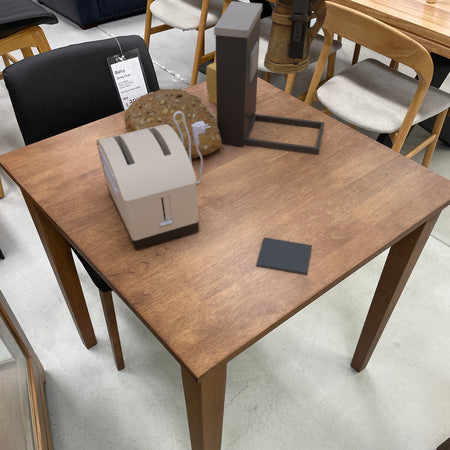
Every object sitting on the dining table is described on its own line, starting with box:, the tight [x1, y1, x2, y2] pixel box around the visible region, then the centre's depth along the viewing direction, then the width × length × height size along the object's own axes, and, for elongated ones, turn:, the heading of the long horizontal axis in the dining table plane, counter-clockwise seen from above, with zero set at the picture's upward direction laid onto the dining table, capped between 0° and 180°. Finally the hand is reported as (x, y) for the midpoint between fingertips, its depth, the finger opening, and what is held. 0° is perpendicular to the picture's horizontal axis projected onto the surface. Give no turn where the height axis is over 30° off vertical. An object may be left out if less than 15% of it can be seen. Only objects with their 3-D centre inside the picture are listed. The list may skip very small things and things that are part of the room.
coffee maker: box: [213, 0, 325, 155], centre depth 107 cm, size 26×17×28 cm, turn 76°
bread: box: [123, 88, 223, 159], centre depth 110 cm, size 24×21×12 cm
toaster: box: [95, 111, 211, 250], centre depth 92 cm, size 23×25×17 cm
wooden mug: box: [263, 0, 328, 75], centre depth 83 cm, size 9×14×18 cm, turn 85°
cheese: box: [205, 61, 217, 105], centre depth 125 cm, size 10×11×10 cm
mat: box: [255, 236, 313, 276], centre depth 88 cm, size 10×8×1 cm
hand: (298, 49), depth 87 cm, fingers closed on wooden mug, 7 cm apart
